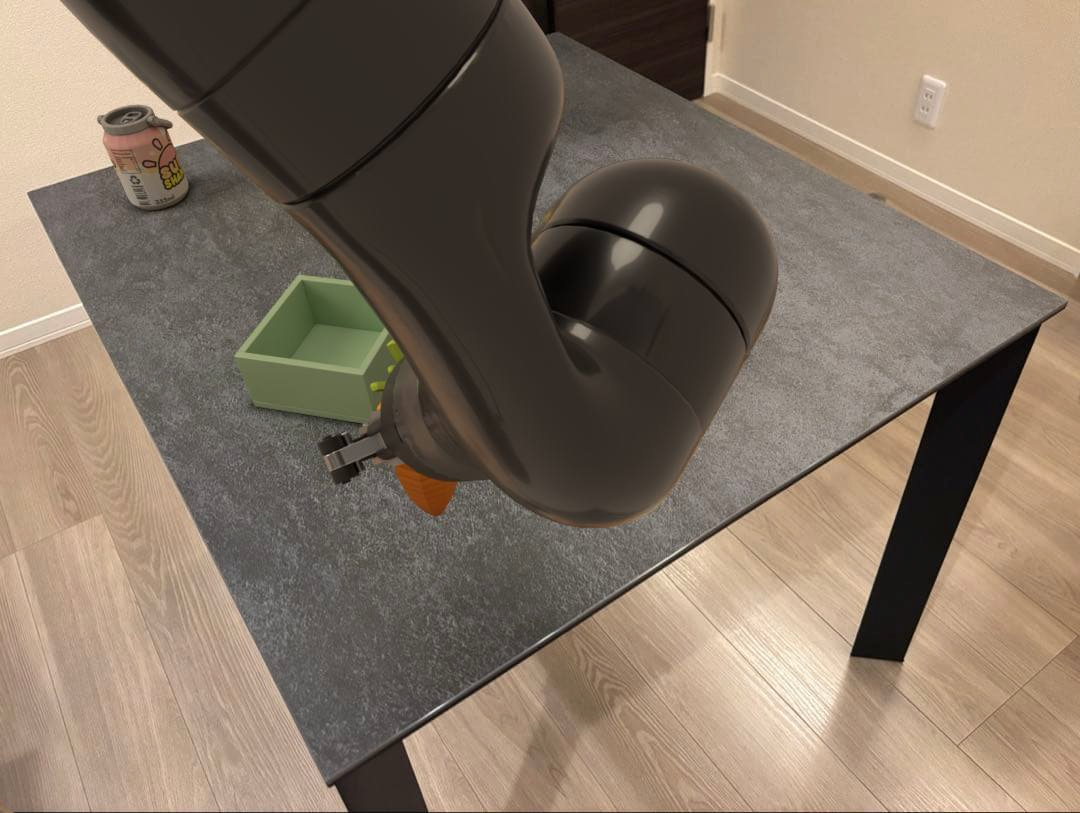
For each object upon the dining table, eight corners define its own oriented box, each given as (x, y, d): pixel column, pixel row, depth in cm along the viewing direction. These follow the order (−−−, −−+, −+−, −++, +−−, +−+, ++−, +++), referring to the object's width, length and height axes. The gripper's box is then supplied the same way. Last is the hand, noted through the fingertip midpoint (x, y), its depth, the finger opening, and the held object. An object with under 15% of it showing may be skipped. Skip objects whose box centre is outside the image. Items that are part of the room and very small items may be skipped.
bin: (377, 426, 81) (363, 375, 76) (254, 406, 84) (233, 356, 79) (426, 338, 90) (416, 288, 85) (314, 323, 93) (298, 274, 89)
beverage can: (151, 177, 120) (117, 97, 112) (205, 179, 119) (174, 98, 111) (119, 211, 114) (80, 129, 106) (175, 213, 113) (140, 130, 104)
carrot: (469, 541, 57) (440, 380, 47) (397, 542, 57) (353, 382, 47) (474, 486, 60) (448, 325, 50) (407, 488, 61) (367, 327, 50)
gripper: (570, 278, 41) (482, 338, 57) (295, 385, 37) (283, 418, 53) (628, 415, 42) (525, 437, 58) (364, 539, 37) (331, 525, 53)
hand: (410, 428), depth 55 cm, fingers closed on carrot, 5 cm apart
